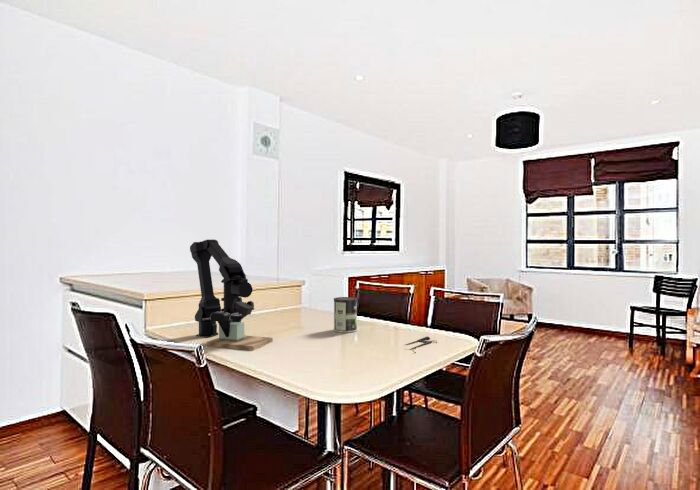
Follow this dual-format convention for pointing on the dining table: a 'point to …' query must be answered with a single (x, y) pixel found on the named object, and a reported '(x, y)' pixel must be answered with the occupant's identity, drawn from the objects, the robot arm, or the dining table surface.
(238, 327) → the block
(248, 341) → the oak board
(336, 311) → the coffee can
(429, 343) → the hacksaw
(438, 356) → the dining table surface
